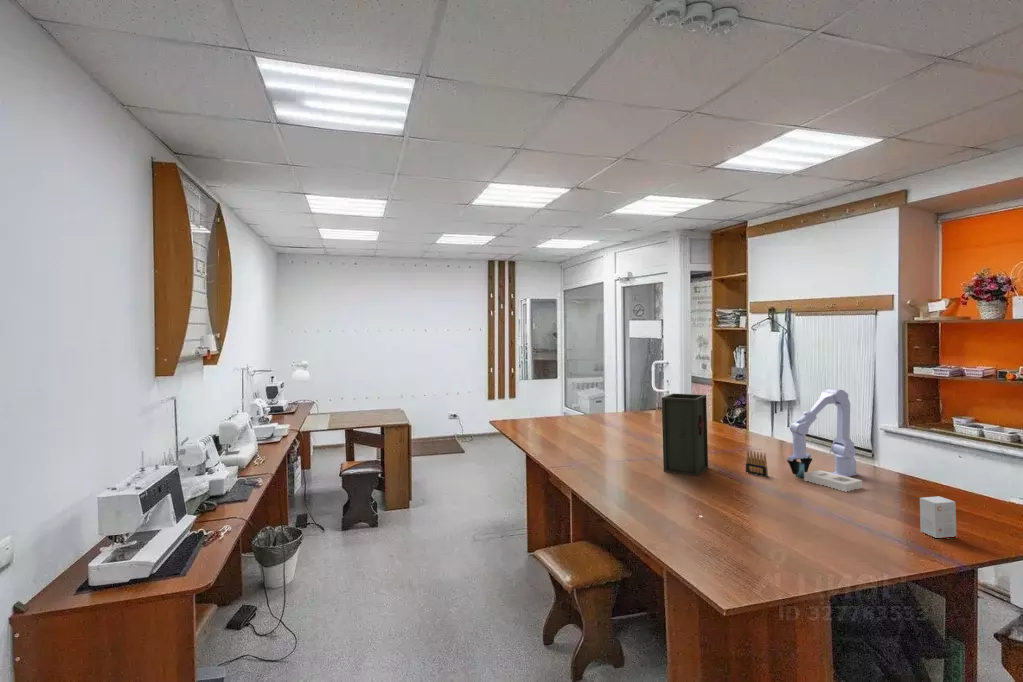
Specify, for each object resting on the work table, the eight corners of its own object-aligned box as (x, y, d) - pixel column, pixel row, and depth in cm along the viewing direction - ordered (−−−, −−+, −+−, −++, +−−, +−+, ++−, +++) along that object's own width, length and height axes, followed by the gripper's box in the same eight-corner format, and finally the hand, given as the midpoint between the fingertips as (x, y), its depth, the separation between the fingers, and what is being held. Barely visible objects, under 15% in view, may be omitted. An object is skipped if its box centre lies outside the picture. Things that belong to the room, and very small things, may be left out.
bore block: (820, 477, 250) (819, 470, 250) (862, 487, 231) (861, 480, 231) (804, 480, 245) (804, 473, 245) (845, 492, 227) (845, 484, 226)
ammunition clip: (767, 476, 254) (767, 452, 254) (766, 476, 253) (765, 453, 253) (747, 471, 263) (746, 449, 262) (745, 472, 262) (745, 449, 261)
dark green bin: (674, 463, 284) (672, 393, 283) (708, 467, 273) (706, 395, 272) (663, 471, 269) (661, 397, 268) (698, 476, 258) (696, 399, 257)
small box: (939, 531, 182) (939, 495, 182) (957, 538, 176) (956, 501, 176) (919, 532, 181) (919, 497, 181) (936, 539, 175) (935, 503, 175)
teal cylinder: (799, 475, 254) (798, 461, 253) (806, 477, 250) (806, 463, 250) (793, 476, 252) (793, 462, 252) (801, 478, 248) (800, 464, 248)
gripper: (797, 449, 244) (797, 477, 244) (816, 446, 250) (817, 472, 250) (784, 447, 250) (784, 473, 251) (803, 443, 256) (803, 469, 257)
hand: (800, 473), depth 251 cm, fingers open, 7 cm apart
